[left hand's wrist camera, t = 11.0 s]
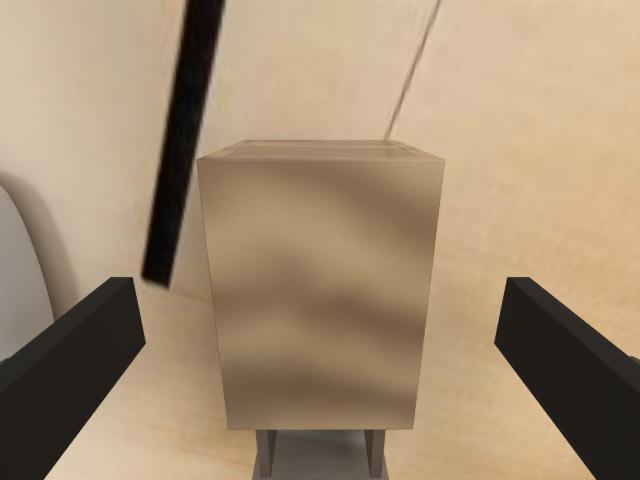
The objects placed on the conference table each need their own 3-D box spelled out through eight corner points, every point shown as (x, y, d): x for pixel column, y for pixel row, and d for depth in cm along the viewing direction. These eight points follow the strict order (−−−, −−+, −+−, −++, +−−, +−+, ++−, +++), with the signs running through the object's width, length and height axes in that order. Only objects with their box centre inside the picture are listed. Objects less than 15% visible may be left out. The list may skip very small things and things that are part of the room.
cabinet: (383, 327, 32) (413, 430, 22) (257, 327, 32) (227, 430, 22) (396, 140, 26) (445, 159, 16) (244, 140, 26) (196, 159, 16)
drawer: (370, 452, 36) (385, 558, 27) (270, 452, 36) (255, 558, 27) (382, 263, 29) (408, 328, 20) (257, 263, 29) (232, 328, 20)
